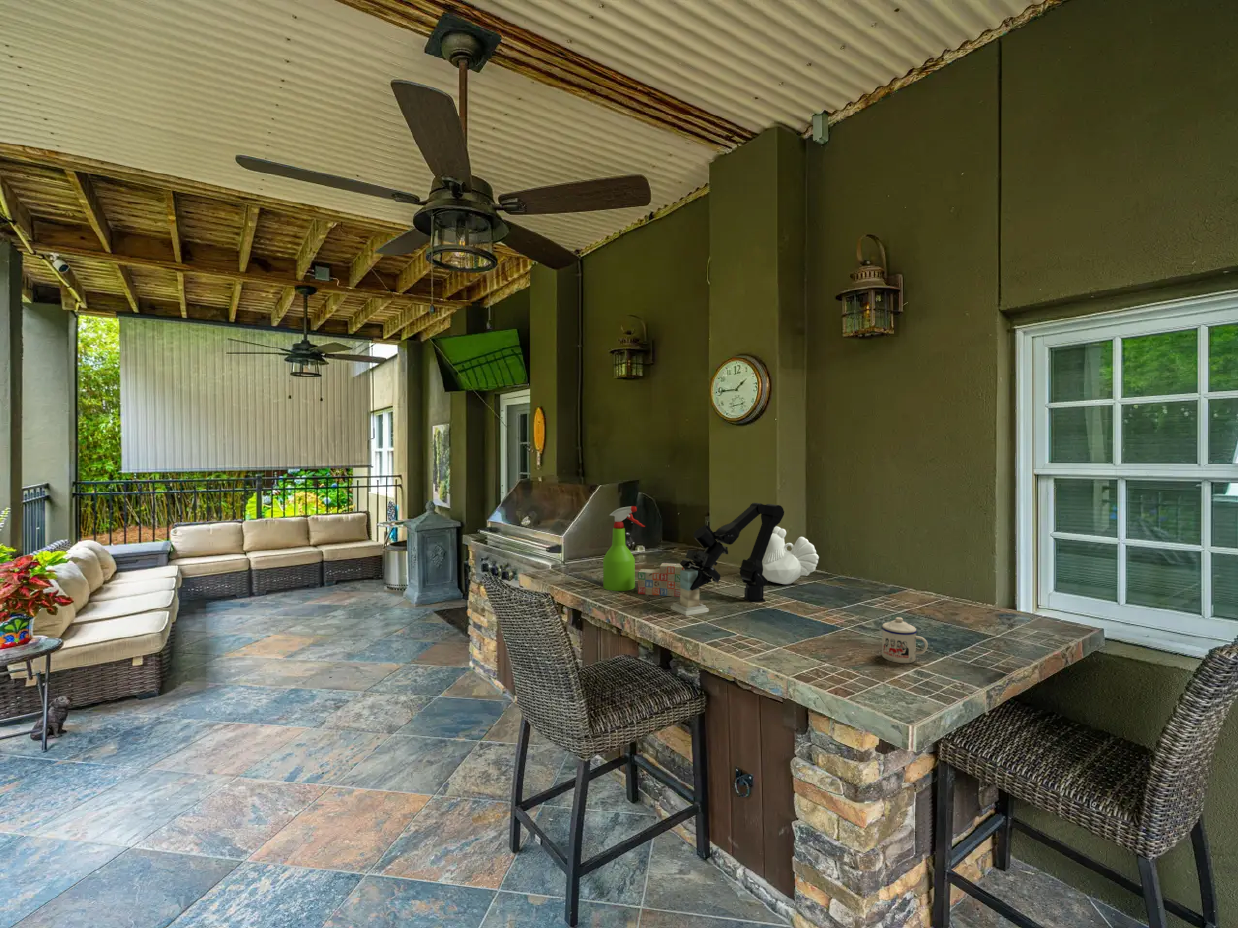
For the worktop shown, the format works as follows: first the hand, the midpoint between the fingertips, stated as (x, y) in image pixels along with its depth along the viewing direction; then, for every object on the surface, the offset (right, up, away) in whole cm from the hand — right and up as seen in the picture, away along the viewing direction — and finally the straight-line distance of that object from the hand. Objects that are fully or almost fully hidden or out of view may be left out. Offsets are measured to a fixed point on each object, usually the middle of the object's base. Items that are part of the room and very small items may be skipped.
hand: (686, 588), depth 221 cm
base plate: (+1, -8, +1) cm, 8 cm away
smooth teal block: (+1, -7, +1) cm, 7 cm away
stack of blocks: (-6, -8, +25) cm, 27 cm away
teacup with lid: (+56, -10, -50) cm, 76 cm away
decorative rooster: (+49, -7, +42) cm, 65 cm away
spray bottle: (-23, -7, +36) cm, 43 cm away
